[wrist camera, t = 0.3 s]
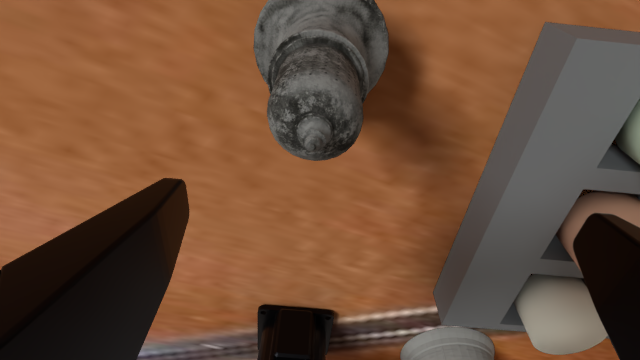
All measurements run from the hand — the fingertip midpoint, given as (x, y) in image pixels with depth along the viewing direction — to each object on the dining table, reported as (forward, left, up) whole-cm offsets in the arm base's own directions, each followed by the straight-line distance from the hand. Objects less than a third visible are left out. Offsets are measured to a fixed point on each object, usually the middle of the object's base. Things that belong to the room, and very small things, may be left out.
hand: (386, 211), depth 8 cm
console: (-9, -16, -14) cm, 23 cm away
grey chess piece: (0, +2, -14) cm, 14 cm away
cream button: (-16, -16, -12) cm, 25 cm away
